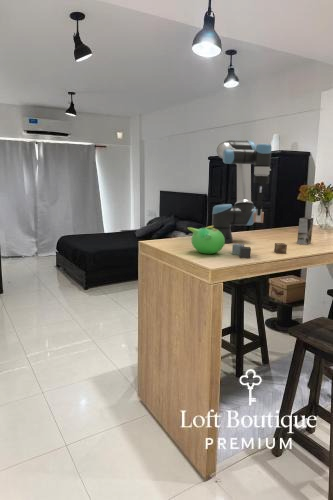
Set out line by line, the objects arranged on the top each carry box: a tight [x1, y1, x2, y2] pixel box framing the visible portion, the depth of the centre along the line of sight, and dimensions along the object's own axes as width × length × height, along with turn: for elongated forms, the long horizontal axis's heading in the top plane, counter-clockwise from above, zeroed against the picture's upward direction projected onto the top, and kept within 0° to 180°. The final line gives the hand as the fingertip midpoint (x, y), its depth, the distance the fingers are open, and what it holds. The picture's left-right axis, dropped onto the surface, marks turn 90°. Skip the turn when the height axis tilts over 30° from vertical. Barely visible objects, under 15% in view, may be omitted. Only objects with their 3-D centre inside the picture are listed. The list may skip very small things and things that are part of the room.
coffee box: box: [296, 217, 315, 246], centre depth 217 cm, size 9×6×16 cm
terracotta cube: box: [253, 211, 265, 224], centre depth 180 cm, size 5×5×5 cm
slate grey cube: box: [231, 243, 245, 256], centre depth 184 cm, size 5×5×5 cm
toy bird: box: [187, 225, 226, 255], centre depth 183 cm, size 18×17×15 cm
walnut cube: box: [273, 242, 288, 255], centre depth 189 cm, size 5×5×5 cm
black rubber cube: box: [239, 246, 252, 259], centre depth 177 cm, size 5×5×5 cm
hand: (258, 221), depth 181 cm, fingers closed on terracotta cube, 5 cm apart
